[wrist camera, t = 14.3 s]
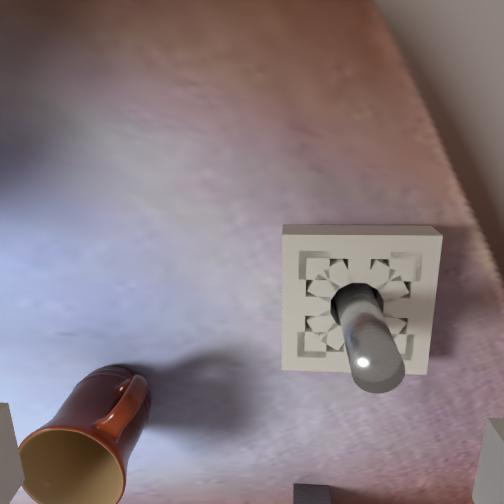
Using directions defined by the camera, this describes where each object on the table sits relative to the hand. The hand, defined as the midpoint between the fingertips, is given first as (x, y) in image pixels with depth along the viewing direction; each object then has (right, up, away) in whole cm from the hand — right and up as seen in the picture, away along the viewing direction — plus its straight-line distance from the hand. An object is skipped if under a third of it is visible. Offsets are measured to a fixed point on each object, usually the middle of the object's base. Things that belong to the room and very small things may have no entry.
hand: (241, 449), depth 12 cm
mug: (-12, -7, +31) cm, 34 cm away
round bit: (+9, +2, +26) cm, 28 cm away
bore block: (+9, +2, +26) cm, 28 cm away
